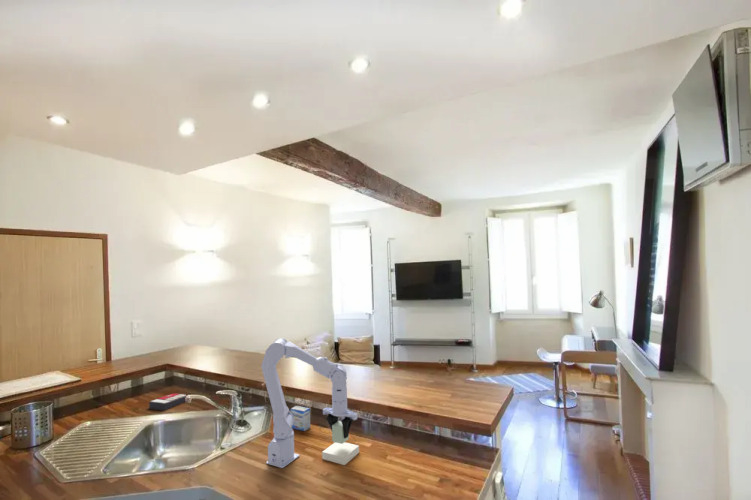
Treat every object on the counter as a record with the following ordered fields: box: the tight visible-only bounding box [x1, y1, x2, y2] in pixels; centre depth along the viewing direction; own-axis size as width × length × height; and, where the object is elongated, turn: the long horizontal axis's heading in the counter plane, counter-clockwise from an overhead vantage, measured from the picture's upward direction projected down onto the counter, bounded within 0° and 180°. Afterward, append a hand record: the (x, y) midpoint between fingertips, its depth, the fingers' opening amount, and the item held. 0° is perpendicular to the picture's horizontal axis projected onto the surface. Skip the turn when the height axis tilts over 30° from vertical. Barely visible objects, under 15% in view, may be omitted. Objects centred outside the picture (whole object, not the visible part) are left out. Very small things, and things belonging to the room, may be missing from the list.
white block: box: [321, 441, 360, 466], centre depth 138 cm, size 10×10×3 cm
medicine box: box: [290, 405, 311, 432], centre depth 163 cm, size 8×4×9 cm, turn 62°
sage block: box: [331, 420, 350, 444], centre depth 138 cm, size 4×4×6 cm
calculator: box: [148, 393, 187, 412], centre depth 198 cm, size 11×4×15 cm
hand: (340, 435), depth 138 cm, fingers closed on sage block, 4 cm apart
